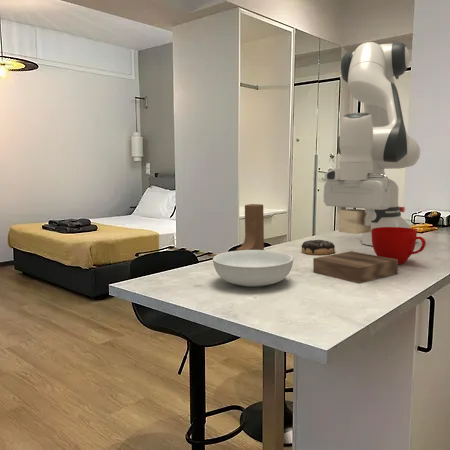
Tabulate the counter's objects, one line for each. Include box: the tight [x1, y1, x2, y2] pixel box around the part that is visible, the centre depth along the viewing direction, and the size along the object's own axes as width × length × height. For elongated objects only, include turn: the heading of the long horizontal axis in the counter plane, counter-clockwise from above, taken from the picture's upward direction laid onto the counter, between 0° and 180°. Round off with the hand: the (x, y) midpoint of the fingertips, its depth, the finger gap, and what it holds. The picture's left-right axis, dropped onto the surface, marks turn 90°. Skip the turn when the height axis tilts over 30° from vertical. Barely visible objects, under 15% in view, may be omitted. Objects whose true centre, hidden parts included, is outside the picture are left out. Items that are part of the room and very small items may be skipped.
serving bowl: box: [212, 249, 294, 288], centre depth 117 cm, size 21×21×7 cm
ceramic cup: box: [371, 227, 427, 265], centre depth 136 cm, size 13×17×10 cm
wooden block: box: [236, 203, 265, 251], centre depth 144 cm, size 9×4×18 cm, turn 138°
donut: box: [301, 239, 336, 256], centre depth 156 cm, size 11×12×4 cm
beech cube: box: [338, 208, 371, 235], centre depth 123 cm, size 6×6×6 cm
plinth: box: [312, 251, 399, 284], centre depth 125 cm, size 16×16×4 cm
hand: (354, 224), depth 123 cm, fingers closed on beech cube, 6 cm apart
